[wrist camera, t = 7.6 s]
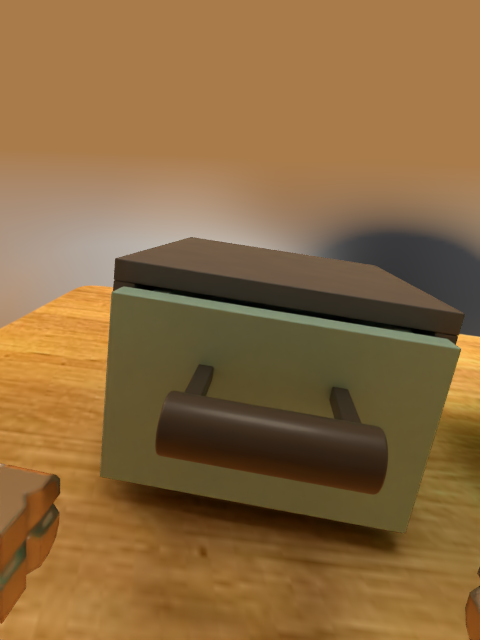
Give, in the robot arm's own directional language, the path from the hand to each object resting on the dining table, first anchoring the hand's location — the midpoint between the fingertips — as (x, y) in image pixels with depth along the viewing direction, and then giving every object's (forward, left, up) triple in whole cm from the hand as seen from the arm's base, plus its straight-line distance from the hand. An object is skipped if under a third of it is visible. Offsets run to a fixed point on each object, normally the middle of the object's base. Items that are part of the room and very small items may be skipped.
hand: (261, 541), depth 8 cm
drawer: (0, +12, -5) cm, 13 cm away
